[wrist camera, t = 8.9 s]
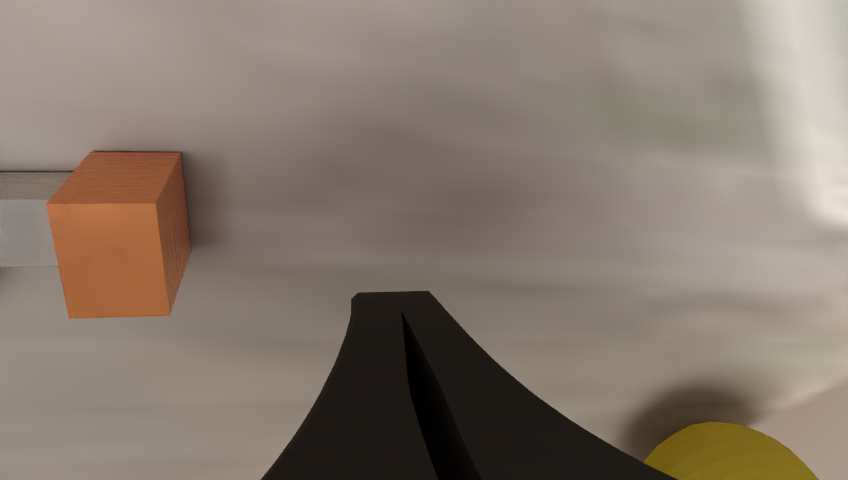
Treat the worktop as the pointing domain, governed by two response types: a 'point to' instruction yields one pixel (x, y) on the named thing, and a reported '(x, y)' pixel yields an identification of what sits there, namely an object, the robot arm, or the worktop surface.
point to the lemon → (726, 455)
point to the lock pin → (102, 231)
